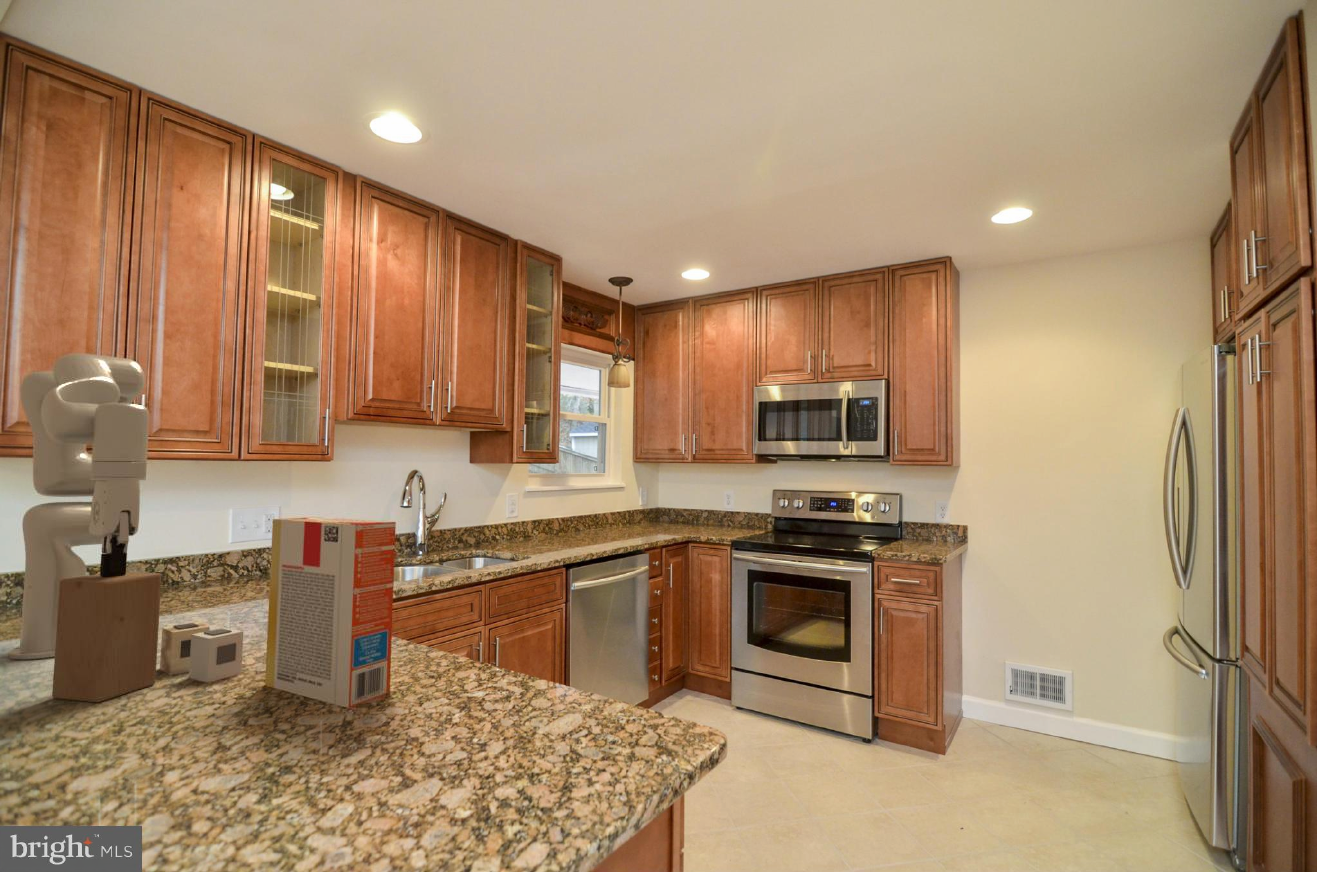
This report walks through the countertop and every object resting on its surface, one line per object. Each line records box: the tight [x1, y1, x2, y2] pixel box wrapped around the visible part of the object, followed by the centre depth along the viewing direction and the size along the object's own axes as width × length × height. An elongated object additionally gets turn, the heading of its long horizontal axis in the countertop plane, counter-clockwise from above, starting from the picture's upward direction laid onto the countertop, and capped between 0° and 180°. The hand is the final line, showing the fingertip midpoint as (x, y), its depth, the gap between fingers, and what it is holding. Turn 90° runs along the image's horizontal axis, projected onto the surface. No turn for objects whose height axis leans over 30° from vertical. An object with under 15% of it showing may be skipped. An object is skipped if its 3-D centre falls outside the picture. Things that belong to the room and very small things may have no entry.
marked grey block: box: [188, 627, 244, 684], centre depth 120 cm, size 6×6×8 cm
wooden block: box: [51, 571, 162, 703], centre depth 111 cm, size 10×10×20 cm
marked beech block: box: [159, 621, 210, 676], centre depth 124 cm, size 6×6×8 cm
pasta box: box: [264, 516, 397, 709], centre depth 114 cm, size 23×8×30 cm, turn 63°
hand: (112, 575), depth 112 cm, fingers closed
